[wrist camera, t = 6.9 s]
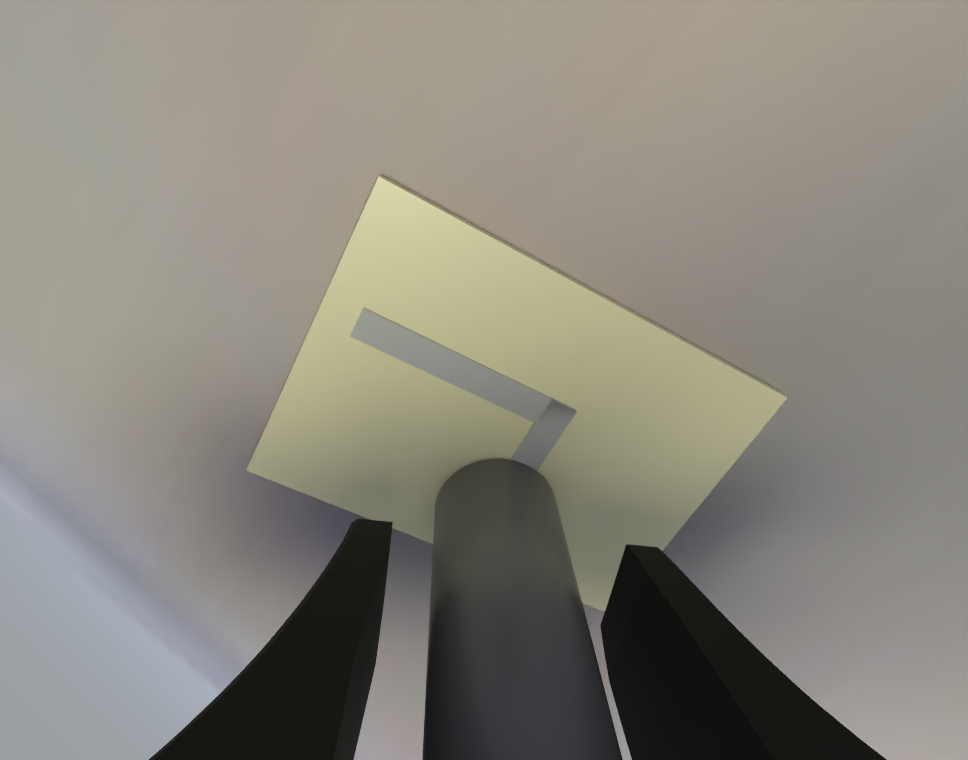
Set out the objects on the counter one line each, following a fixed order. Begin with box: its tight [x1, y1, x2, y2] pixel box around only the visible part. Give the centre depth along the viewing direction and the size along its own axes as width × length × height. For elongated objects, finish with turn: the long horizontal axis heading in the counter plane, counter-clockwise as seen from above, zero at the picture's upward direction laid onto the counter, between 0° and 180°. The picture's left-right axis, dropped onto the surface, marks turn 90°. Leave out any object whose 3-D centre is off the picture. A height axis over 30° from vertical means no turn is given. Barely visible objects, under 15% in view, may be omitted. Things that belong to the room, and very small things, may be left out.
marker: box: [423, 459, 622, 760], centre depth 10 cm, size 3×3×7 cm
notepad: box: [246, 175, 787, 612], centre depth 12 cm, size 9×6×1 cm
